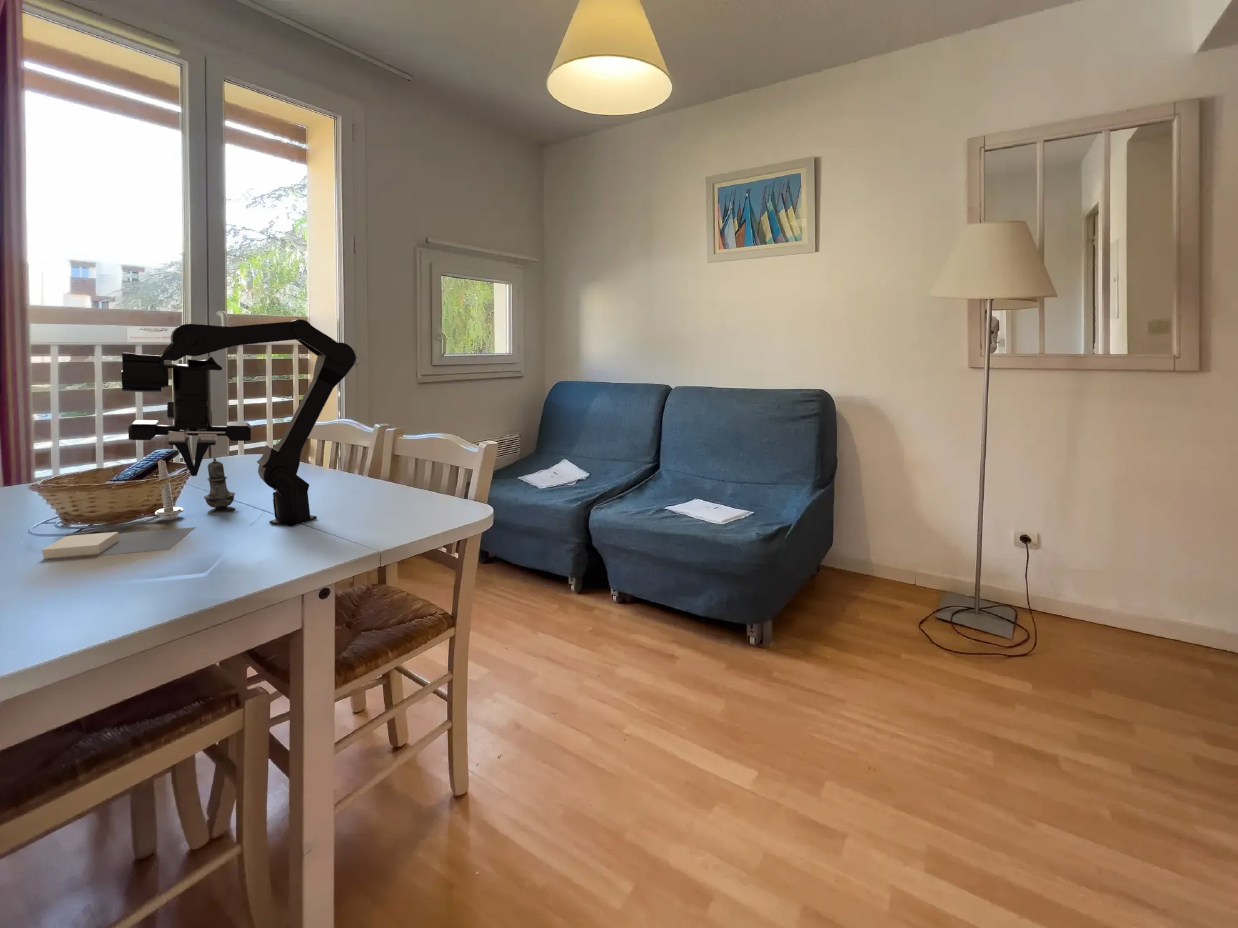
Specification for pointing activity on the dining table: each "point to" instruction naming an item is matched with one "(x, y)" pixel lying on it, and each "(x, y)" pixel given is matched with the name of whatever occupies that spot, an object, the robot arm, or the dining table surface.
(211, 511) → the salt shaker
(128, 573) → the dining table surface
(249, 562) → the dining table surface
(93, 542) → the tile
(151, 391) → the robot arm
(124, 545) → the mat
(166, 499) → the screw
